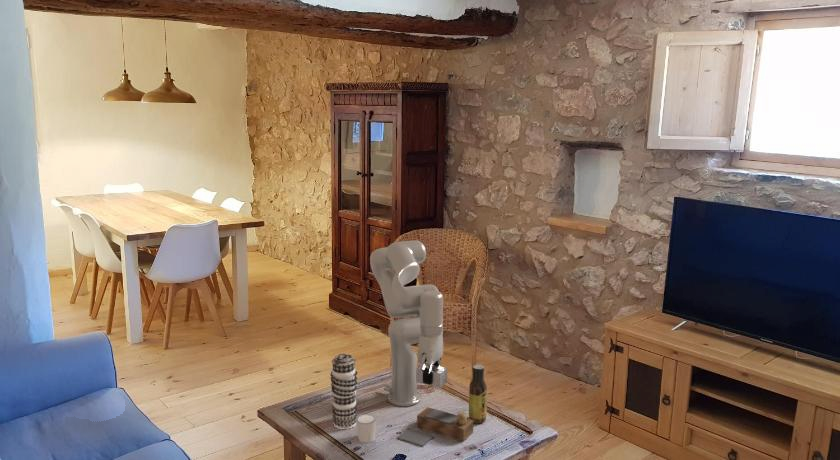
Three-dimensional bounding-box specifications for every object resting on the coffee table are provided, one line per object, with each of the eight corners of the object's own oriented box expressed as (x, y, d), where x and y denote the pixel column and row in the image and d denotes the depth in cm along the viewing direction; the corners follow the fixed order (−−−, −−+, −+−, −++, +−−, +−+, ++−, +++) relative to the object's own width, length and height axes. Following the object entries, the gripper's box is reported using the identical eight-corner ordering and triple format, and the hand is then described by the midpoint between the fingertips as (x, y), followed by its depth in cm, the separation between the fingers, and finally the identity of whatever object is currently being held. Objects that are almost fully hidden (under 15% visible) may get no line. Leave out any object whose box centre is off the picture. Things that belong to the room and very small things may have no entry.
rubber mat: (397, 438, 211) (397, 437, 210) (408, 429, 216) (408, 427, 216) (422, 446, 205) (422, 445, 205) (433, 437, 211) (433, 435, 211)
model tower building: (344, 414, 227) (342, 349, 221) (363, 421, 221) (362, 355, 216) (326, 425, 219) (324, 357, 214) (346, 433, 214) (344, 364, 209)
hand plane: (417, 427, 217) (417, 407, 216) (427, 418, 223) (427, 399, 222) (463, 441, 208) (463, 420, 207) (473, 432, 214) (473, 412, 213)
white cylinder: (368, 445, 206) (368, 426, 205) (351, 439, 210) (351, 420, 208) (380, 436, 212) (380, 417, 211) (364, 430, 216) (364, 411, 214)
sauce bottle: (485, 425, 219) (486, 371, 215) (467, 423, 220) (468, 370, 216) (487, 416, 225) (488, 364, 221) (469, 414, 226) (470, 362, 222)
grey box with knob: (416, 382, 210) (416, 366, 209) (423, 376, 215) (423, 361, 213) (440, 387, 206) (440, 371, 205) (447, 381, 210) (447, 366, 209)
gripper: (433, 318, 215) (433, 368, 219) (408, 335, 201) (409, 388, 205) (453, 322, 212) (452, 372, 216) (429, 339, 197) (429, 393, 201)
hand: (431, 379), depth 210 cm, fingers closed on grey box with knob, 5 cm apart
